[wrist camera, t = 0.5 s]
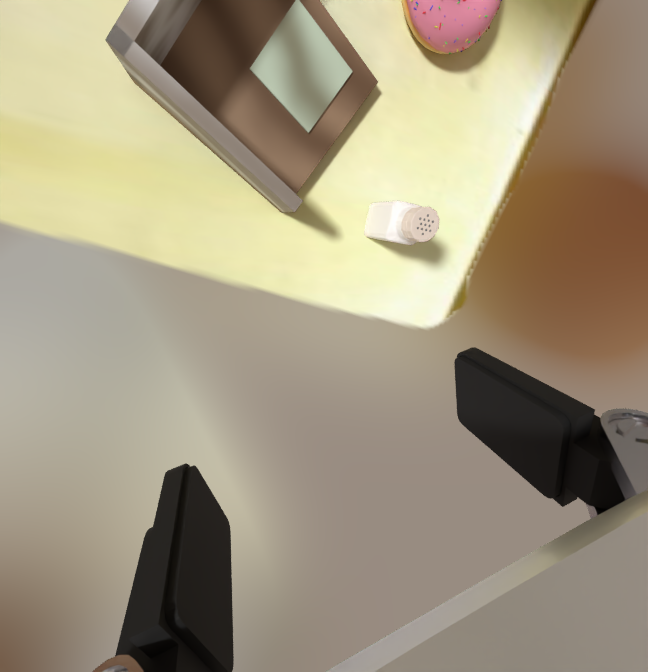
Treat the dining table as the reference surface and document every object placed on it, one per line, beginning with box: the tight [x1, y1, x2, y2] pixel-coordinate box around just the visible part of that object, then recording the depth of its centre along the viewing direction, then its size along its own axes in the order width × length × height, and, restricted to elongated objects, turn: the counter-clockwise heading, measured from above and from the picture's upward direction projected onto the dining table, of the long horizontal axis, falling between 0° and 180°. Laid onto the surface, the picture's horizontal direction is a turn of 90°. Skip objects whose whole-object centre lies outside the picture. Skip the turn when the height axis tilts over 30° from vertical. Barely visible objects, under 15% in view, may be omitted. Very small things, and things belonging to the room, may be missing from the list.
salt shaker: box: [364, 201, 439, 245], centre depth 33 cm, size 4×4×10 cm
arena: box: [106, 0, 378, 212], centre depth 26 cm, size 16×16×7 cm
